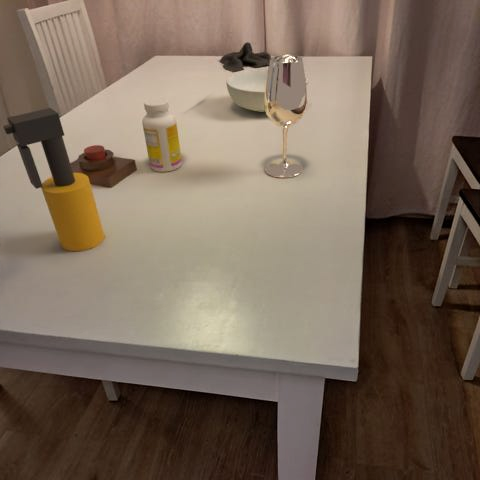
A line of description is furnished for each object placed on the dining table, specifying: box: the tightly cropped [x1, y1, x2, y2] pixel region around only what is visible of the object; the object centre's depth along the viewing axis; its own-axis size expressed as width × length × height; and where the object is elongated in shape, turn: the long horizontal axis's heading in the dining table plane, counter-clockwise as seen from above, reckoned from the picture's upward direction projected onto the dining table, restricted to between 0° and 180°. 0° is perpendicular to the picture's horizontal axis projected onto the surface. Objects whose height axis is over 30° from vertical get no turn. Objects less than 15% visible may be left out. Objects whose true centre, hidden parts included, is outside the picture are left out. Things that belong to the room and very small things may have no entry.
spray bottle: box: [2, 107, 105, 252], centre depth 69 cm, size 9×7×20 cm
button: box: [83, 144, 106, 160], centre depth 93 cm, size 4×4×2 cm
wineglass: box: [264, 54, 308, 179], centre depth 87 cm, size 8×8×20 cm
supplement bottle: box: [141, 97, 183, 173], centre depth 93 cm, size 7×7×13 cm
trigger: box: [16, 143, 43, 190], centre depth 66 cm, size 1×3×6 cm, turn 36°
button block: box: [70, 148, 138, 189], centre depth 94 cm, size 12×9×4 cm
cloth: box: [219, 41, 272, 73], centre depth 158 cm, size 22×19×6 cm
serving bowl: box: [225, 68, 309, 113], centre depth 121 cm, size 21×21×7 cm
